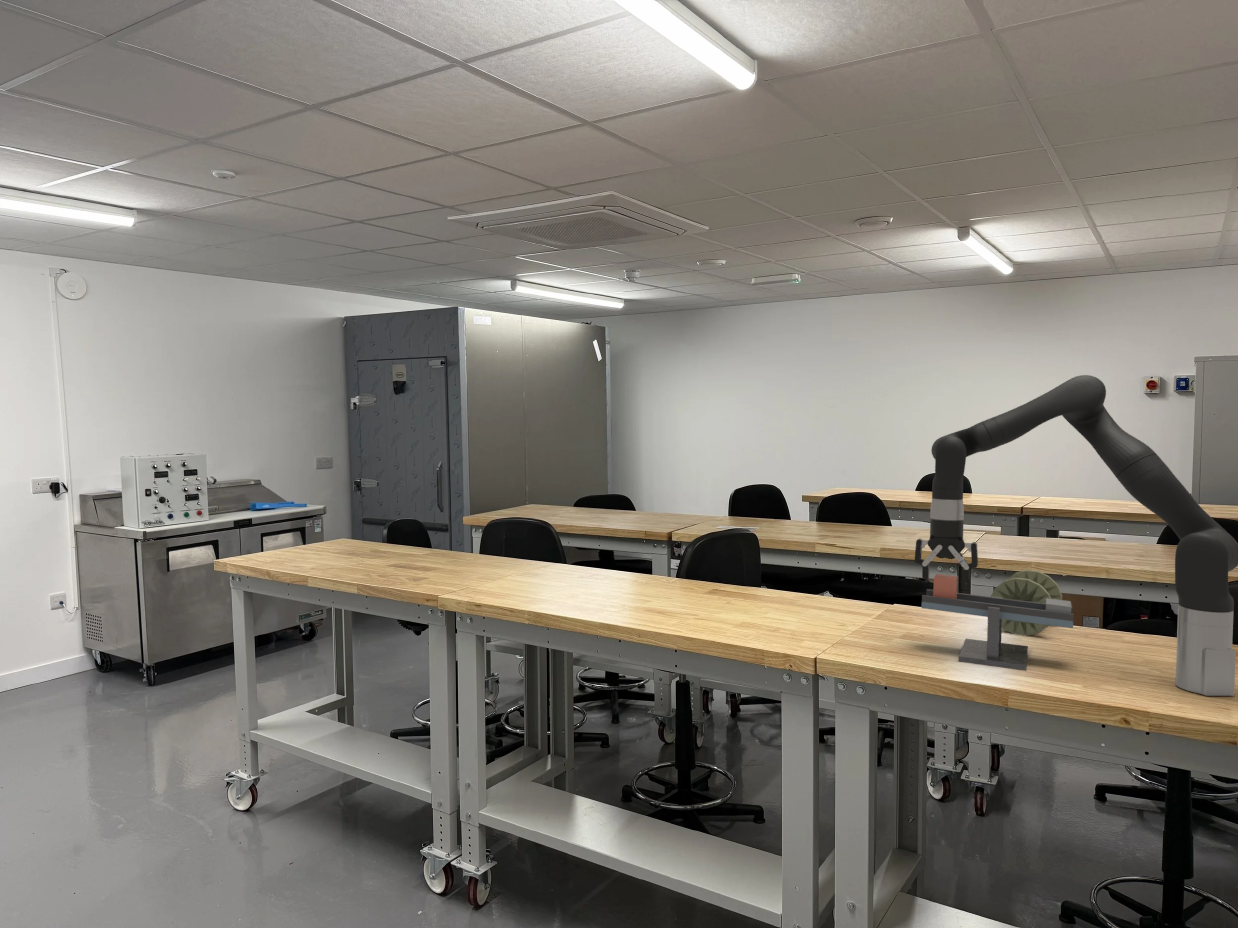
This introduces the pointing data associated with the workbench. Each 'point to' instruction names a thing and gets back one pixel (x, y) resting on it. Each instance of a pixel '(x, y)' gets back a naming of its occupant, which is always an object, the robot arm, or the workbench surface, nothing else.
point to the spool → (1027, 597)
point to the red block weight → (945, 586)
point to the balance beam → (1005, 608)
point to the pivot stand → (994, 647)
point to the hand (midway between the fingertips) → (945, 582)
